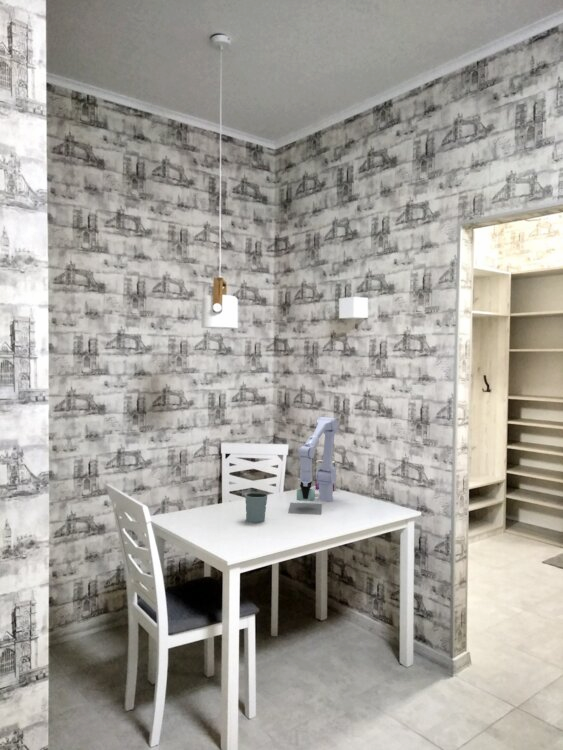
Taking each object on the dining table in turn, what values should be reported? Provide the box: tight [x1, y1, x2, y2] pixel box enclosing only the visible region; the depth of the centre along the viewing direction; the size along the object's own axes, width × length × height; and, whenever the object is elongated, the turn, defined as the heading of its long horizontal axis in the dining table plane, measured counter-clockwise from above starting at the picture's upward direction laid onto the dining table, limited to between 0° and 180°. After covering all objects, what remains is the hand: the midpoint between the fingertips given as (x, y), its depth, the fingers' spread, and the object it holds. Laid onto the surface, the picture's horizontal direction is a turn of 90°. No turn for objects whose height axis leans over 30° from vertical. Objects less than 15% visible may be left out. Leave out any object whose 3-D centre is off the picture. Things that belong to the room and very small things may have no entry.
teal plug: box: [296, 488, 320, 502], centre depth 287 cm, size 11×4×5 cm, turn 85°
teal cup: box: [245, 491, 268, 524], centre depth 266 cm, size 10×10×12 cm
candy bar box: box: [314, 459, 337, 492], centre depth 330 cm, size 11×5×16 cm, turn 72°
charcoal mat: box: [287, 502, 323, 516], centre depth 287 cm, size 20×16×1 cm
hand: (305, 497), depth 287 cm, fingers closed on teal plug, 4 cm apart
